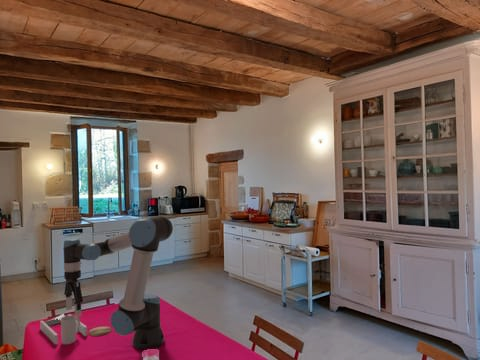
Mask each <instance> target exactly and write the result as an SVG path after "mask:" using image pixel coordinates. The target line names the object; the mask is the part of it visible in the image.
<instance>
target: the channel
mask: <svg viewBox="0 0 480 360" xmlns="http://www.w3.org/2000/svg"><path fill="white" fill-rule="evenodd" d="M69 315H72V314H71V313H69V314H68V313H67V316H69ZM39 324H40V326H39V327H40V331H41V332H42V333H43V334H44V335H45V336H46V337H47V338H48V339H49V340H50V341H51V342H52V343H53V344H54V345H58V344H59V339H58V338H59V337H58V336H59V335H58V333H57V332H56V331H55V330H53V329H52V328H51V326H48V325H47V324H46V323H45V321H44V320H40V321H39ZM77 326H78V321H77V320H76V329H77ZM78 333H81V335H83V336H84V337H87V336H88V327H87V325H85V324H84V323H82V321H80V328H79V331H78Z"/></svg>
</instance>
